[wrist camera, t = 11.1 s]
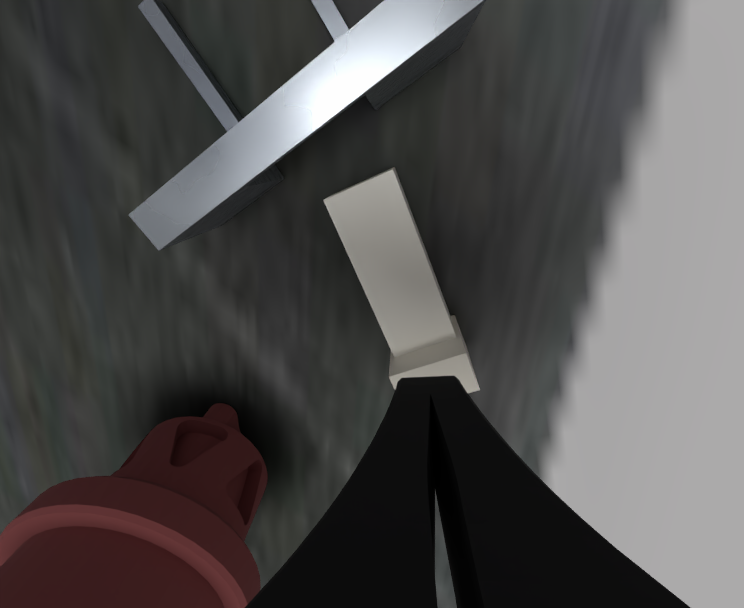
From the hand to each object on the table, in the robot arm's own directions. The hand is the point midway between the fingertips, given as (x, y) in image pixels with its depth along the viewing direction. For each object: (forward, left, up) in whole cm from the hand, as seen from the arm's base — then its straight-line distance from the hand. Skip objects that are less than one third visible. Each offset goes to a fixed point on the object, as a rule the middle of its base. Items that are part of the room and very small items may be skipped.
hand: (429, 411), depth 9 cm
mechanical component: (+3, -15, -9) cm, 18 cm away
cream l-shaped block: (0, 0, -9) cm, 9 cm away
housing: (-11, 0, -9) cm, 14 cm away
